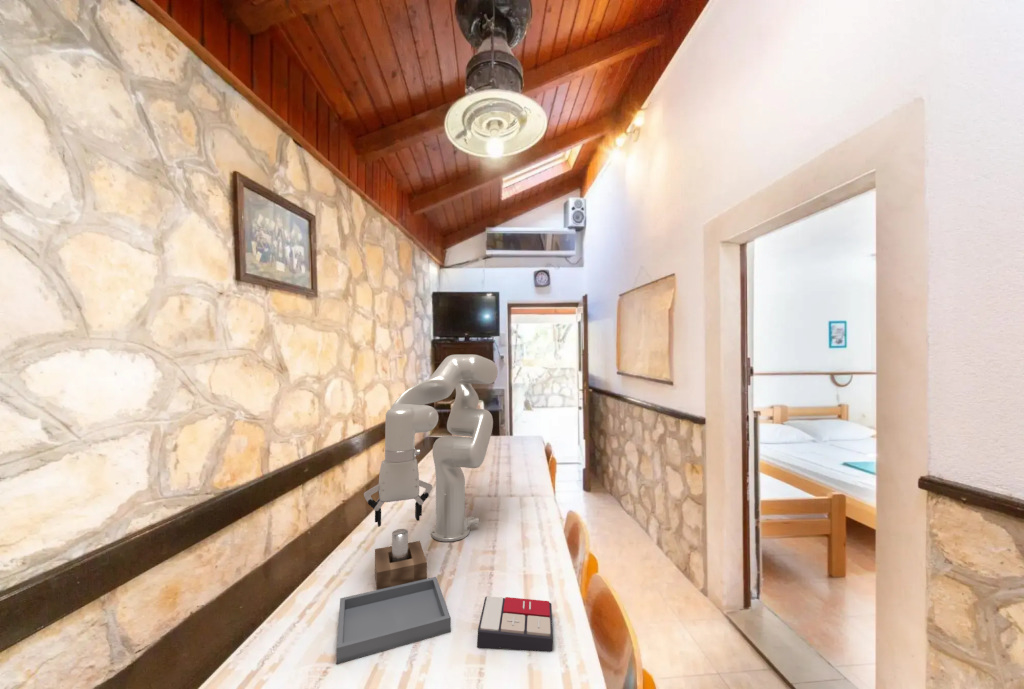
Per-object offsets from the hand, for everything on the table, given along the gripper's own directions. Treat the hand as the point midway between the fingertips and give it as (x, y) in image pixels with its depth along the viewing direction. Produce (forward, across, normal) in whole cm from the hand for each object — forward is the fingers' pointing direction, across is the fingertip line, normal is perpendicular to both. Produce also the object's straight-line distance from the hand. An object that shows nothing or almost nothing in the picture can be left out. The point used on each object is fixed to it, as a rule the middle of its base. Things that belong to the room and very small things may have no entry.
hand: (398, 521), depth 99 cm
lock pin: (+15, -1, -1) cm, 15 cm away
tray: (+15, +2, +15) cm, 22 cm away
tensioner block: (+15, -1, -1) cm, 15 cm away
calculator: (+16, -22, +28) cm, 39 cm away
